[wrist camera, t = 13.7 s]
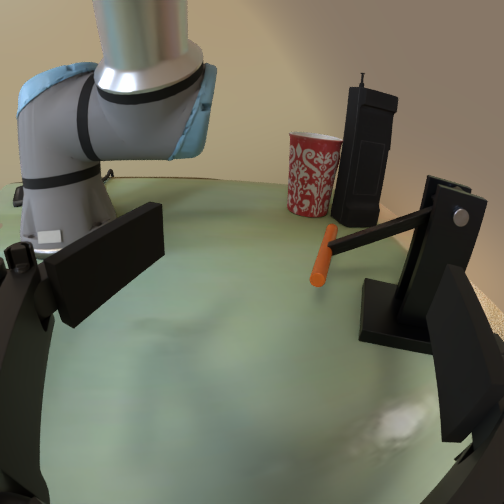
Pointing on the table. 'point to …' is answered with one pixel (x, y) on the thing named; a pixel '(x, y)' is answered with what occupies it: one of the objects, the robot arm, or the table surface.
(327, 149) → the mug
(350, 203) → the portable radio
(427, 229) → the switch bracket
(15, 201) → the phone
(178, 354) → the table surface
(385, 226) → the switch lever
